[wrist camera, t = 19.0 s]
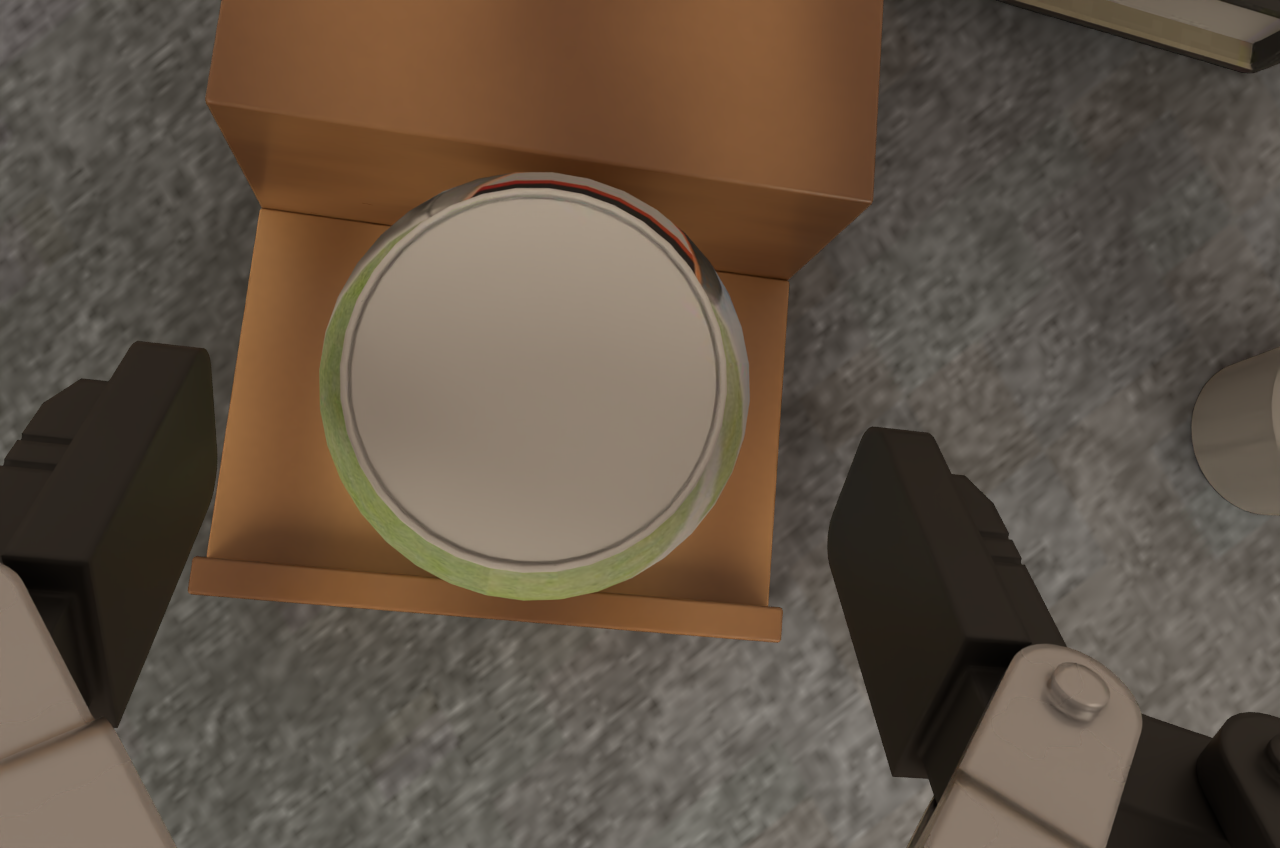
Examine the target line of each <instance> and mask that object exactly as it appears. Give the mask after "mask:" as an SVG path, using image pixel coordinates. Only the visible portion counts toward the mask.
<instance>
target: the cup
mask: <svg viewBox="0 0 1280 848" xmlns="http://www.w3.org/2000/svg"><path fill="white" fill-rule="evenodd" d="M1191 430H1192V443H1193V447H1194V452H1195V456H1196V458H1197V461H1198V463H1199V466H1200V468H1201V470H1202V472H1203V473H1204V475H1205V477H1206V478H1207V480H1208V482H1209V483H1210V484H1211V485H1212V486H1213V487H1214V489H1215V490H1216V491H1217V492H1218V493H1219V494H1220V495H1221V496H1222V497H1224V498H1225V499H1226V500H1227V501H1229V502H1230V503H1231V504H1233V505H1235V506H1237V507H1239V508H1241V509H1243V510H1245V511H1248V512H1251V513H1255V514H1261V515H1280V347H1278V348H1275V349H1272V350H1270V351H1267V352H1264V353H1262V354H1259V355H1256V356H1254V357H1251V358H1248V359H1246V360H1243V361H1240V362H1238V363H1235V364H1232V365H1230V366H1228V367H1226V368H1224V369H1222V370H1221V371H1219V372H1218V373H1216V374H1215V375H1214V376H1213V377H1212V378H1211V379H1210V380H1209V381H1208V382H1207V383H1206V384H1205V386H1204V388H1203V389H1202V391H1201V392H1200V394H1199V396H1198V399H1197V401H1196V404H1195V407H1194V410H1193V416H1192V423H1191Z"/></svg>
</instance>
